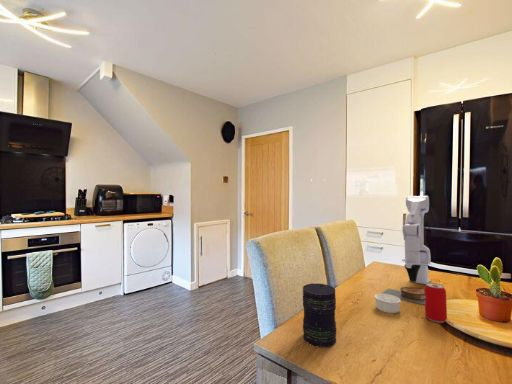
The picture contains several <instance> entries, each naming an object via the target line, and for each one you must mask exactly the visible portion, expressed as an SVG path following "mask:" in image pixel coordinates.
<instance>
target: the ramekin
mask: <svg viewBox="0 0 512 384" xmlns="http://www.w3.org/2000/svg"><path fill="white" fill-rule="evenodd" d="M374 298H375V305H376V308H377V309H378V310H379V311H381V312H384V313H389V314H397V313H399V312H400V311H401V309H400V308H401V302H402V300H401V299H399V298H398V297H396V296H393V295H389V294H381V293H377V294H375V295H374Z"/></svg>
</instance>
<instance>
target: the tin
mask: <svg viewBox="0 0 512 384" xmlns="http://www.w3.org/2000/svg"><path fill="white" fill-rule="evenodd" d="M400 291H401V294H402V295H403V296H404V297H406V298H410V299H416V300H425V293H424V287H415V286H413V287H412V286H410V287H409V286H403V287H400Z"/></svg>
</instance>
